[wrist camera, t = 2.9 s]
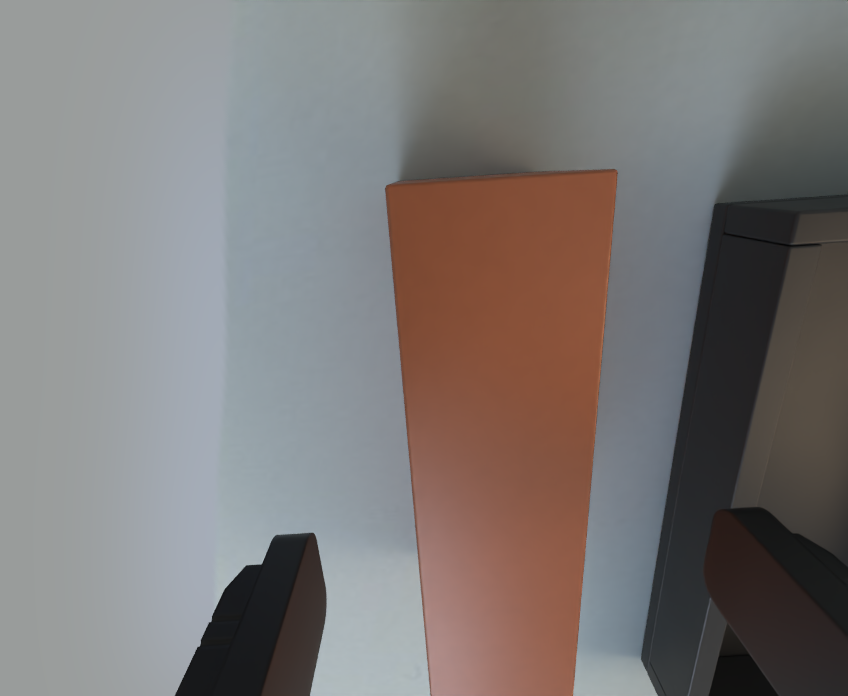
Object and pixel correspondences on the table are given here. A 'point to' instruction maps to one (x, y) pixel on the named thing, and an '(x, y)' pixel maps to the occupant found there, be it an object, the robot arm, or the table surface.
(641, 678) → the table surface
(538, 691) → the rectangular block
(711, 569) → the robot arm
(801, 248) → the tray
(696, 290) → the table surface
